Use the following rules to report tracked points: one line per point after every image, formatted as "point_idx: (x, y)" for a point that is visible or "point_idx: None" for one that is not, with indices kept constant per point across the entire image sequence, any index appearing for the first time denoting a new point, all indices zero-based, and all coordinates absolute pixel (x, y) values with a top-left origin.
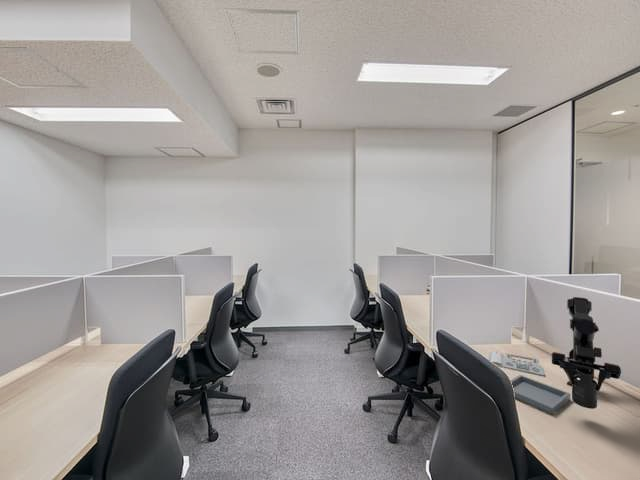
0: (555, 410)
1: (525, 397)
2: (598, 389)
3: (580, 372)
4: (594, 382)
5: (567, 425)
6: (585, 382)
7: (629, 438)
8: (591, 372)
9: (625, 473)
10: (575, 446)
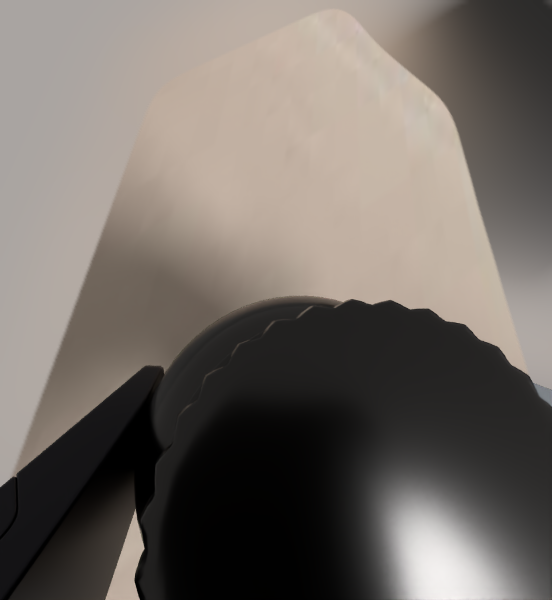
0: None
1: (542, 388)
2: (154, 368)
3: (478, 339)
4: (183, 386)
5: (332, 282)
6: (316, 302)
7: (82, 337)
8: (202, 557)
9: (182, 77)
10: (311, 141)
